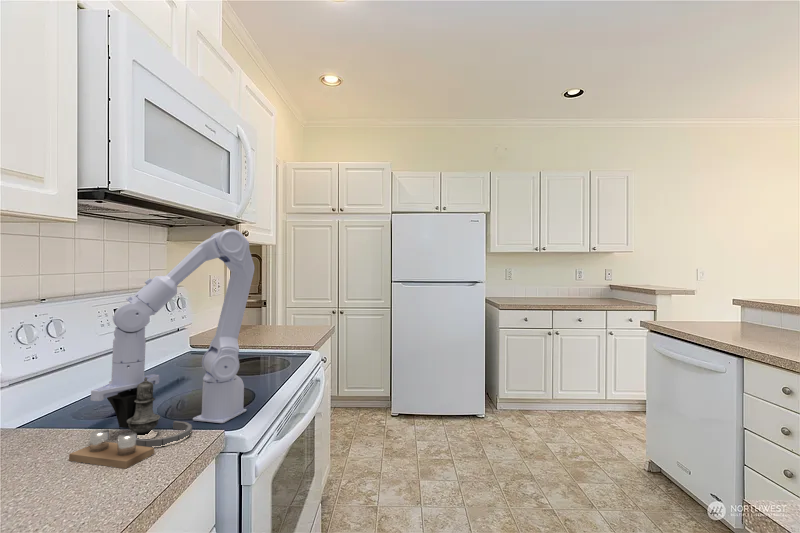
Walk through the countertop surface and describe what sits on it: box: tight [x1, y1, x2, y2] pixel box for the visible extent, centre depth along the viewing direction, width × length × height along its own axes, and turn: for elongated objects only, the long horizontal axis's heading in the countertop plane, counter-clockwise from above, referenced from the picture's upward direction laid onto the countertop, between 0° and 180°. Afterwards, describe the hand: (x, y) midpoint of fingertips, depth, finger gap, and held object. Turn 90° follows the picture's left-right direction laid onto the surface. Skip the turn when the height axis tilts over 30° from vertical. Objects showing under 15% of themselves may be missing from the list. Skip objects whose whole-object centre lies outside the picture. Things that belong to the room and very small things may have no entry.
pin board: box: [68, 428, 155, 469], centre depth 73 cm, size 6×12×4 cm, turn 78°
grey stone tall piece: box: [127, 377, 161, 435], centre depth 84 cm, size 6×6×12 cm
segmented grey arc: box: [136, 420, 193, 447], centre depth 83 cm, size 11×7×2 cm, turn 168°
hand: (125, 426), depth 85 cm, fingers closed, pressing on grey stone tall piece
